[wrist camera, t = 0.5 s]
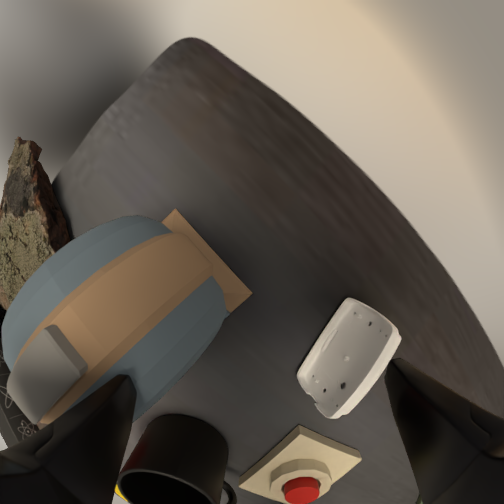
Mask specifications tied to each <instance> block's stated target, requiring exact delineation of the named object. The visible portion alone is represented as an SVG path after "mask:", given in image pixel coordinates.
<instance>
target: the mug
mask: <svg viewBox="0 0 504 504" xmlns="http://www.w3.org/2000/svg"><path fill="white" fill-rule="evenodd" d="M227 458H228V448H227V445H226V443H225V441H224V439H223V438H222V436H221V435H220V434H219V433H218V432H217V431H216V430H215V429H214V428H212V427H211V426H209V425H208V424H206V423H204V422H202V421H200V420H197V419H195V418H191V417H187V416H182V415H168V416H163V417H160V418H157V419H155V420H154V421H152V422H151V423H150V424H149V425H148V427H147V428H146V430H145V432H144V433H143V435H142V437H141V438H140V440H139V442H138V443H137V445H136V447H135V448H134V450H133V452H132V453H131V455H130V457H129V459H128V460H127V462H126V464H125V465H124V467H123V469H122V470H121V472H120V474H119V476H118V480H117V486H118V489H119V491H120V492H121V494H122V495H123V497H124V498H125V499H126V500H127V501H128V502H129V503H130V504H220V499H221V493H222V488H223V489H224V490H225V491H226V492H227V494H228V498H229V500H228V503H227V504H236V503H237V497H236V494H235V492H234V490H233V488H232V487H231V486H230V485H229V484H228V483H227V482H225V481H224V476H225V470H226V464H227Z"/></svg>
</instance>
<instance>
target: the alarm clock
mask: <svg viewBox="0 0 504 504" xmlns="http://www.w3.org/2000/svg"><path fill="white" fill-rule="evenodd" d="M252 294H253V293H252V292H251V291H250V290H249V289H248V288H247V287H246V286H245V285H244V283H243V282H242V281H241V280H240V279H239V278H238V277H237V276H236V275H235V274H234V273H233V272H232V270H231V269H230V268H229V267H228V266H227V265H226V264H225V263H224V262H223V261H222V260H221V258H220V257H219V256H218V255H217V254H216V253H215V252H214V251H213V250H212V249H211V247H210V246H209V245H208V244H207V243H206V242H205V241H204V240H203V239H202V237H201V236H200V235H199V234H198V233H197V232H196V231H195V230H194V229H193V227H192V226H191V225H190V224H189V223H188V222H187V221H186V220H185V218H184V217H183V216H182V215H181V214H180V213H179V212H178V211H177V209H174V210H173V211H172V212H171V213H170V214H169V215H168V216H167V217H166V218H165V219H164V220H163V221H162V222H161V223H160V222H158V221H156V220H153V219H150V218H146V217H142V216H139V215H136V216H126V217H121V218H118V219H115V220H112V221H110V222H107V223H104V224H102V225H99V226H97V227H95V228H93V229H91V230H89V231H87V232H86V233H84V234H82V235H81V236H79V237H77V238H75V239H74V240H72V241H70V242H69V243H68V244H66V245H65V246H64V247H62V248H61V249H60V250H58V251H57V252H56V253H55V254H53V255H52V256H51V257H50V258H48V259H47V260H46V261H45V262H44V263H43V264H42V265H41V266H40V267H39V268H38V269H37V270H36V271H35V272H34V273H33V275H32V276H31V277H30V278H29V279H28V280H27V281H26V282H25V284H24V285H23V287H22V288H21V290H20V291H19V293H18V294H17V296H16V297H15V299H14V300H13V302H12V303H11V305H10V306H9V308H8V310H7V313H6V315H5V318H4V321H3V324H2V327H1V332H2V347H3V357H4V360H5V362H6V364H7V366H8V368H9V369H10V371H11V373H10V375H9V378H8V381H7V392H8V394H9V395H10V396H11V398H12V399H13V400H14V402H15V403H16V404H17V405H18V407H19V408H20V409H21V411H22V412H23V413H24V414H25V415H26V417H27V418H28V419H29V420H30V421H31V423H33V424H35V425H36V424H37V423H38V422H39V421H40V422H41V423H45V424H49V423H51V422H53V421H54V420H55V419H56V418H58V417H59V416H61V415H62V414H64V413H65V412H66V411H68V410H69V409H71V408H72V407H73V406H75V405H76V404H78V403H79V402H80V401H82V400H83V399H85V398H86V397H87V396H89V395H90V394H92V393H93V392H94V391H96V390H97V389H98V388H100V387H101V386H103V385H104V384H105V383H107V382H108V381H109V380H111V379H112V378H114V377H115V376H116V375H118V374H127V375H129V376H130V377H131V379H132V381H133V384H134V386H135V388H136V391H137V399H136V404H135V410H134V416H133V421H132V423H133V422H134V421H135V420H137V419H138V418H139V417H140V416H142V415H143V414H144V413H145V412H146V411H147V410H148V409H149V408H151V407H152V406H153V405H154V404H155V403H156V402H157V401H158V400H160V399H161V398H162V397H163V396H164V395H165V394H166V393H167V392H168V391H169V390H170V389H171V388H172V387H173V386H174V385H175V384H176V383H177V382H178V381H179V380H180V379H181V378H182V377H183V375H184V374H185V373H186V372H187V371H188V370H189V369H190V368H191V366H192V365H193V364H194V363H195V362H196V361H197V360H198V359H199V357H200V356H201V355H202V354H203V352H204V351H205V350H206V348H207V347H208V346H209V345H210V343H211V342H212V341H213V339H214V338H215V336H216V334H217V333H218V331H219V329H220V328H221V325H222V322H223V320H224V319H225V318H226V317H228V316H229V315H230V313H231V312H232V311H233V310H235V309H236V308H237V307H238V306H239V305H240V304H241V303H243V302H244V301H245V300H246V299H247V298H248V297H249V296H250V295H252Z"/></svg>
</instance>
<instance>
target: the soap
mask: <svg viewBox="0 0 504 504" xmlns="http://www.w3.org/2000/svg"><path fill="white" fill-rule="evenodd" d="M400 341H401V336H400V335H399V334H398V329H397V328H396V327H395V326H394V325H393V324H392V323H391V322H390V321H389V320H388V319H387V318H385V317H384V316H383V315H382V314H380V313H379V312H377V311H376V310H374V309H373V308H371V307H369V306H367V305H365V304H364V303H362V302H360V301H357V300H355V299H353V298H346V299H345V300H344V301H343V303H342V304H341V306H340V307H339V308H338V310H337V311H336V313H335V314H334V316H333V317H332V319H331V320H330V321H329V323H328V324H327V326H326V327H325V329H324V330H323V332H322V333H321V335H320V337H319V338H318V340H317V341H316V343H315V344H314V346H313V347H312V349H311V351H310V352H309V354H308V356H307V357H306V359H305V360H304V362H303V364H302V366H301V367H300V369H299V371H298V373H297V379H298V381H299V383H300V385H301V387H302V389H303V390H304V391H305V392H306V394H310V395H311V396H312V397H313V399H314V400H315V401H316V403H315V404H314V405H315V406H316V407H317V409H318V410H319V411H320V412H321V413H322V414H323V415H324V416H325V417H326V418H331V419H337V418H339V417H340V416H341V415H346V414H348V413H349V412H350V411H351V410H352V409H353V408H354V407H355V406H356V405H357V404H358V403H359V402H360V401H361V399H362V398H363V397H364V396H365V395H366V394H367V392H368V391H369V390H370V389H371V387H372V386H373V385H374V383H375V382H376V381H377V379H378V378H379V376H380V375H381V374H382V372H383V371H384V369H385V367H386V366H387V364H388V362H389V361H390V359H391V358H392V356H393V354H394V353H395V351H396V349H397V347H398V345H399V343H400Z"/></svg>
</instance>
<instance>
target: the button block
mask: <svg viewBox="0 0 504 504" xmlns="http://www.w3.org/2000/svg"><path fill="white" fill-rule="evenodd" d="M361 460H362V458H361V455H360V453H359V451H358V450H356V449H353V448H350V447H348V446H346V445H343V444H341V443H338V442H336V441H334V440H331V439H329V438H327V437H324V436H322V435H320V434H318V433H316V432H313V431H311V430H309V429H307V428H305V427H303V426H301V425H298V426H297V427H296V428H295V429H294V430H293V431H292V432H291V433H290V434H288V435H287V436H286V437H285V438H284V439H283V440H282V441H281V442H280V443H279V444H278V445H277V446H276V447H275V448H273V449H272V450H271V451H270V452H269V453H268V454H267V455H266V456H264V457H263V458H262V459H261V460H260V461H259V462H258V463H256V464H255V465H254V466H253V467H252V468H250V469H249V470H248V471H247V472H245V473H244V474H243V475H242V476H241V477H239V484H238V487H240V488H242V489H245V490H248V491H250V492H253V493H255V494H258V495H261V496H264V497H267V498H270V499H272V500H275V501H279V502H282V503H285V504H291V503H288V502H287V501H286V500H285V496H284V485H285V483H286V482H287V481H288V480H291V479H294V478H297V477H313V478H315V479H316V480H317V482H318V487H319V492H320V494H319V496H318V498H319V497H321V496H322V495H323V494H325V493H326V492H328V491H329V489H330V486H331V485H332V484H333V483H334V482H336V481H337V480H338V479H339V478H341V477H342V476H343V475H344V474H346V473H347V472H348V471H349V470H350V469H352V468H353V467H354V466H355V465H356V464H357V463H359V462H360V461H361Z"/></svg>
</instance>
